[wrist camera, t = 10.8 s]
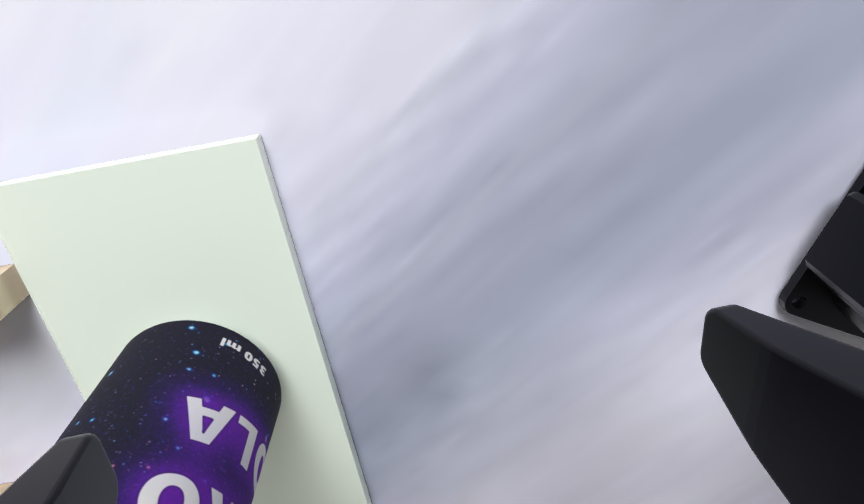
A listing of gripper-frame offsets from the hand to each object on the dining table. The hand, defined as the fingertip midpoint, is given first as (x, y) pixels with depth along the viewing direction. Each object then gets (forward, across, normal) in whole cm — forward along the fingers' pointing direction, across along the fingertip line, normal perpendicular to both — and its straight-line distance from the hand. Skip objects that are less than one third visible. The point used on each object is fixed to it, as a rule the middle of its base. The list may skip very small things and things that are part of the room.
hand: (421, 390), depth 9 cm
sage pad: (+13, +7, +8) cm, 17 cm away
